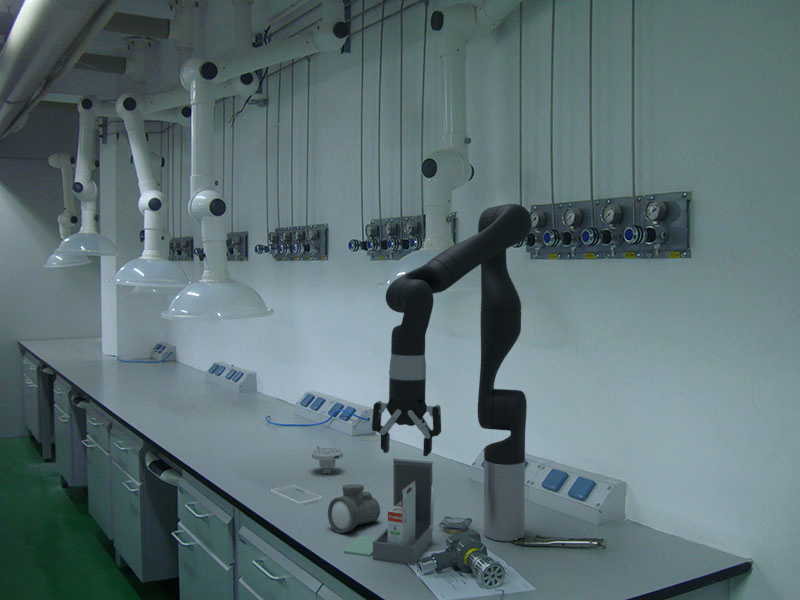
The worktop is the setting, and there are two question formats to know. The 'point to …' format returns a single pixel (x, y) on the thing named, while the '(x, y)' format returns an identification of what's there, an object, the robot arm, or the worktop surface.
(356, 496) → the pipe fitting
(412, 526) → the ink box
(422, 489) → the case
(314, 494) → the phone case
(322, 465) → the showerhead
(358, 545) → the mat
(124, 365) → the worktop surface
